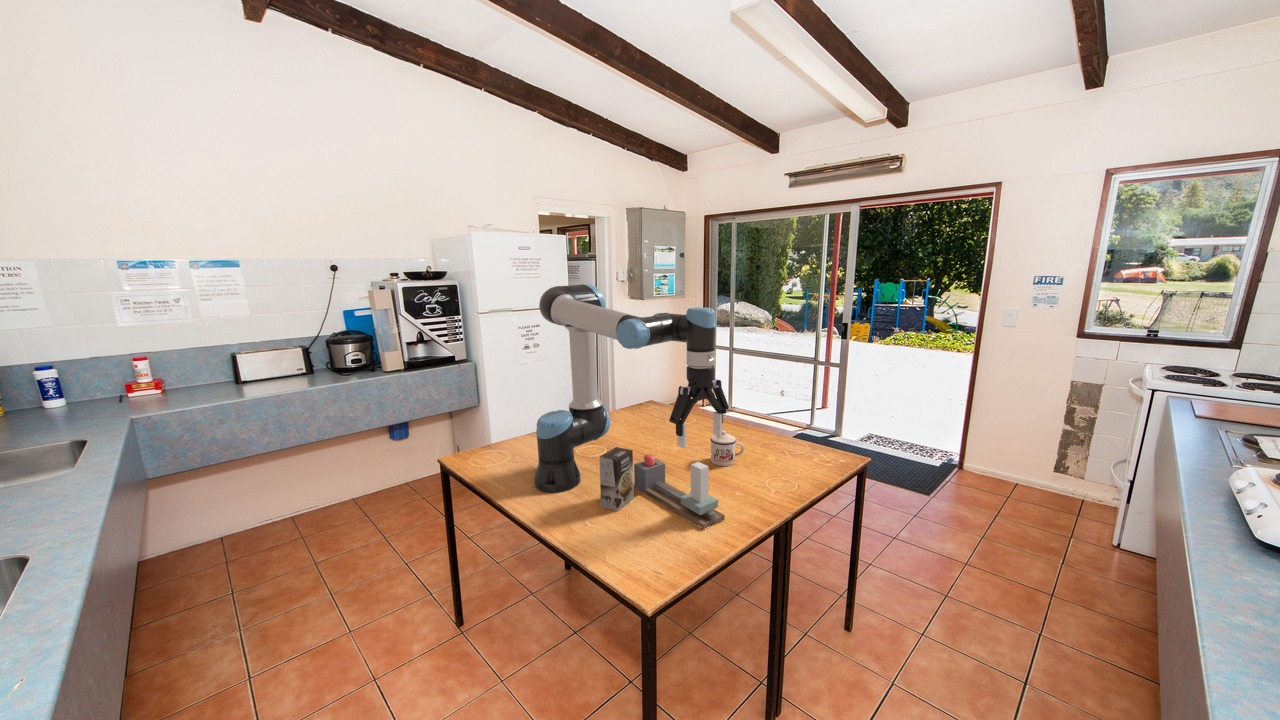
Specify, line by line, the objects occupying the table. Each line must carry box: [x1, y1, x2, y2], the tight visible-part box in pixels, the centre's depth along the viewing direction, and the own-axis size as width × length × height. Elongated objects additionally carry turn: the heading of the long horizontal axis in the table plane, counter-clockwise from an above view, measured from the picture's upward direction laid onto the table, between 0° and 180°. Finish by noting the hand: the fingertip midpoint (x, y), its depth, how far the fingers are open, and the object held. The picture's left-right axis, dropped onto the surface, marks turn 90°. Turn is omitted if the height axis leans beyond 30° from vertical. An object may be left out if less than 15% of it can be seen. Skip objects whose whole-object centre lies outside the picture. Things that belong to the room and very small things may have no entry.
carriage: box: [681, 461, 719, 515], centre depth 132 cm, size 7×8×12 cm
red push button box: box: [633, 458, 666, 495], centre depth 151 cm, size 8×6×8 cm
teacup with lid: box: [710, 430, 745, 467], centre depth 169 cm, size 12×9×12 cm
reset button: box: [643, 453, 656, 468], centre depth 150 cm, size 3×3×5 cm
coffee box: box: [599, 446, 634, 512], centre depth 140 cm, size 9×6×16 cm
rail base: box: [645, 481, 725, 530], centre depth 139 cm, size 8×26×3 cm, turn 37°
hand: (700, 440), depth 129 cm, fingers open, 13 cm apart
